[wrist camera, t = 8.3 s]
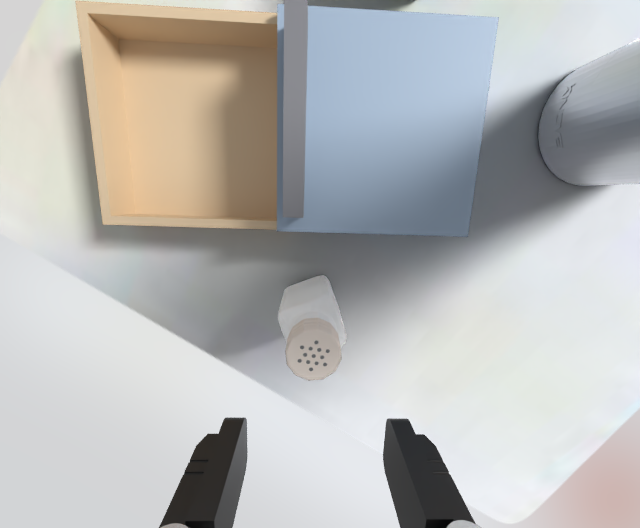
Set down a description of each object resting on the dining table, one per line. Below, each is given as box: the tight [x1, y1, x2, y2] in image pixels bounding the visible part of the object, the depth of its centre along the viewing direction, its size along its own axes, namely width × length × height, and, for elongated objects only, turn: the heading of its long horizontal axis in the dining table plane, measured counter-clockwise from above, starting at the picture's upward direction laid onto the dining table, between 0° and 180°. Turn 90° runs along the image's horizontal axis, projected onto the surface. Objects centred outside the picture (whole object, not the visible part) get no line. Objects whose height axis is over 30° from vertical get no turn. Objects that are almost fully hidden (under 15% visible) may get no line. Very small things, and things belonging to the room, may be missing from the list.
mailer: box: [75, 1, 277, 230], centre depth 21 cm, size 13×13×4 cm
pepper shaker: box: [278, 275, 347, 380], centre depth 21 cm, size 4×4×10 cm
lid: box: [277, 0, 499, 237], centre depth 18 cm, size 13×13×3 cm
